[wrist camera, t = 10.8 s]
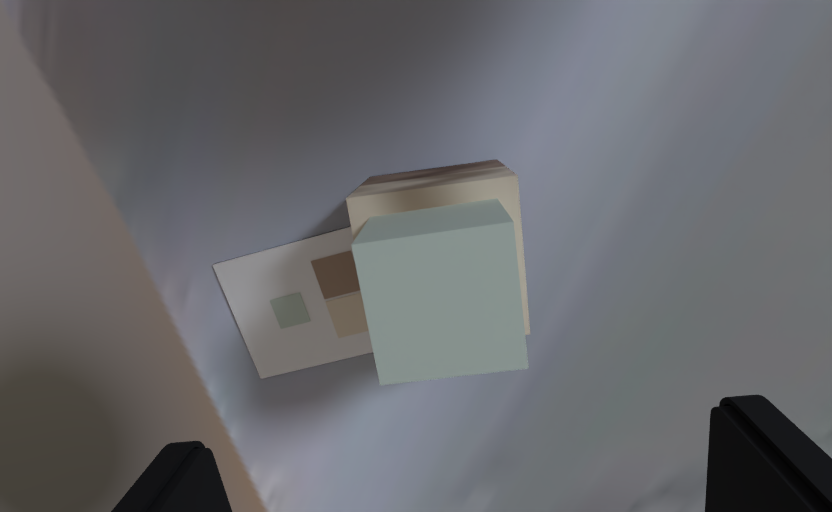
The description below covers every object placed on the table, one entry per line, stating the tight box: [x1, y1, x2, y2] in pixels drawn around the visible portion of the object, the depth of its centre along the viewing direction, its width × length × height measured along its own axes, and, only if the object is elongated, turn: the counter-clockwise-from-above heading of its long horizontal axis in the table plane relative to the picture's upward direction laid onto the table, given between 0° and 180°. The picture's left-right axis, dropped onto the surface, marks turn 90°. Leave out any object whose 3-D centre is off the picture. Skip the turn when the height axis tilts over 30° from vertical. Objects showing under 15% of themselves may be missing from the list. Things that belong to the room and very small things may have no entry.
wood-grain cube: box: [346, 160, 530, 335], centre depth 27 cm, size 8×8×8 cm
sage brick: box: [351, 198, 529, 385], centre depth 20 cm, size 6×6×5 cm
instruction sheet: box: [213, 227, 373, 379], centre depth 32 cm, size 12×9×1 cm
